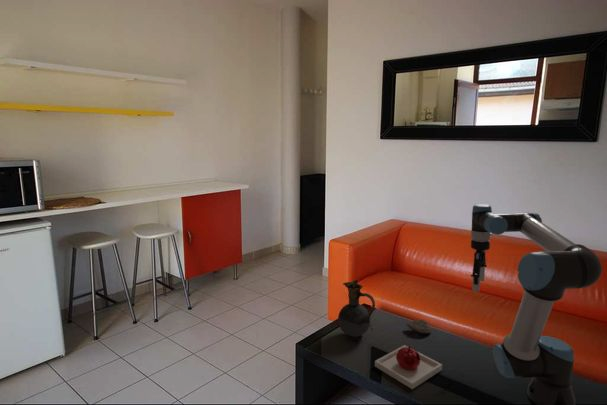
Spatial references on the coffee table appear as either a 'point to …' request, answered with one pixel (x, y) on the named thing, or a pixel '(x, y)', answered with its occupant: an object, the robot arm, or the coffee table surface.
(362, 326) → the pitcher
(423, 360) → the tray
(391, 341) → the coffee table surface
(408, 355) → the pomegranate
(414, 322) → the fossilized seashell
